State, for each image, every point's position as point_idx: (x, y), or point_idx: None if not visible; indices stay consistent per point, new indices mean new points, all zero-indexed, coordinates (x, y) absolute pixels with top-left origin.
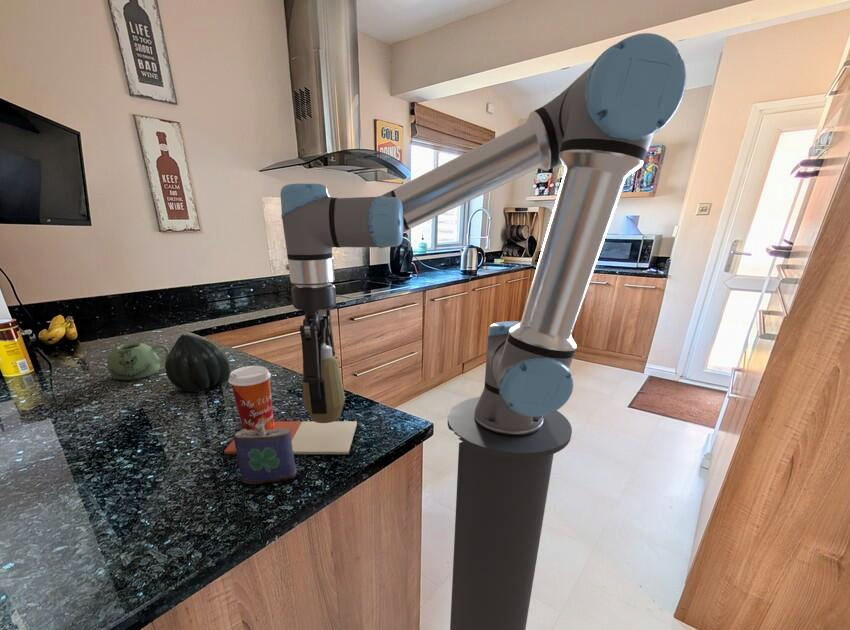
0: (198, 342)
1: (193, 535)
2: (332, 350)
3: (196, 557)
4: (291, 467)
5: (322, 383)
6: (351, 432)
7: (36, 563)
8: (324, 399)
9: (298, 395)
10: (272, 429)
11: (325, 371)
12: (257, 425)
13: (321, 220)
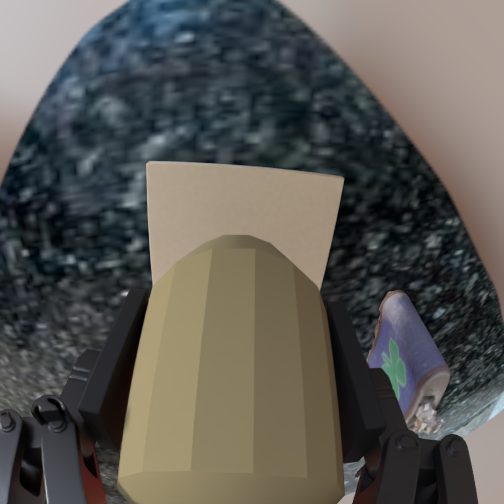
0: (45, 500)
1: (462, 366)
2: (18, 454)
3: (492, 348)
4: (414, 308)
5: (380, 419)
6: (224, 174)
7: (427, 437)
8: (360, 351)
9: (29, 331)
10: None
11: (339, 465)
12: (432, 430)
13: None
